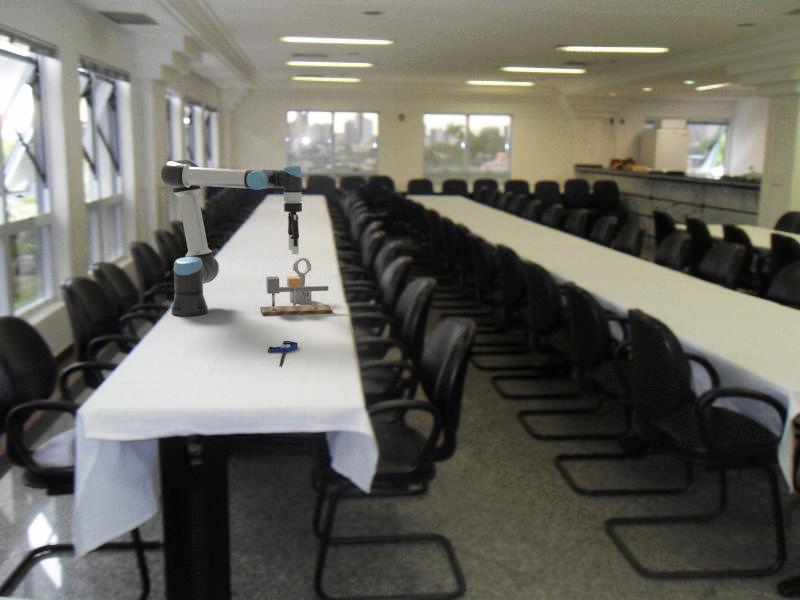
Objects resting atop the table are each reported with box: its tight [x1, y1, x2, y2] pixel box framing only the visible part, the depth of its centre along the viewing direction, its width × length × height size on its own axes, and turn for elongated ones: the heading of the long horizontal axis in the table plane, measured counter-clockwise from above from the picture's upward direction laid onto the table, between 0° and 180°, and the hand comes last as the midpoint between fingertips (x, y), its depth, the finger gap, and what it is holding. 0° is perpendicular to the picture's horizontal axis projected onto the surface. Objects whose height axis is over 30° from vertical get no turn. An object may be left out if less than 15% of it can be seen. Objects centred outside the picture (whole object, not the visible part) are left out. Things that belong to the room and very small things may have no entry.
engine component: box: [289, 257, 312, 305], centre depth 369 cm, size 11×20×10 cm
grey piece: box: [265, 275, 329, 310], centre depth 346 cm, size 26×7×14 cm, turn 104°
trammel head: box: [286, 275, 300, 308], centre depth 346 cm, size 5×7×13 cm
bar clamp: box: [267, 340, 298, 368], centre depth 272 cm, size 32×2×10 cm
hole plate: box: [260, 304, 333, 317], centre depth 348 cm, size 30×12×2 cm, turn 104°
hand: (293, 252), depth 343 cm, fingers open, 13 cm apart
